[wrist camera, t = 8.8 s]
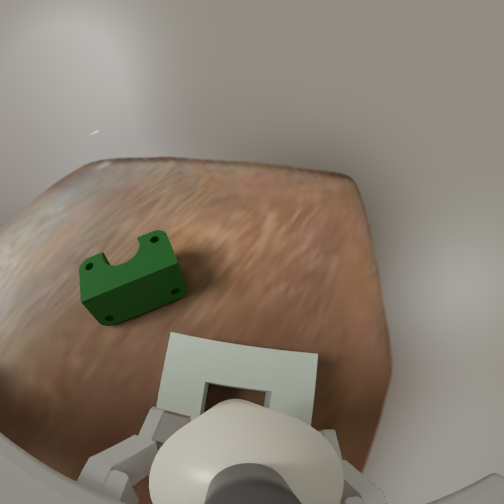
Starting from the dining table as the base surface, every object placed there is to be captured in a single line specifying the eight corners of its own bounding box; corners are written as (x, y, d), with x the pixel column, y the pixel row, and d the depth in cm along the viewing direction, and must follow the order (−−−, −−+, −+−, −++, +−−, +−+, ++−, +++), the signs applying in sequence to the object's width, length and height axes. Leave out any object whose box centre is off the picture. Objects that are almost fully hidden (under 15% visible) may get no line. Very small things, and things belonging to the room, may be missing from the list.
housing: (158, 459, 21) (147, 468, 17) (179, 341, 28) (171, 331, 24) (290, 478, 21) (300, 489, 17) (305, 360, 28) (318, 353, 24)
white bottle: (199, 451, 13) (115, 581, 1) (208, 394, 15) (126, 388, 3) (264, 460, 13) (357, 595, 1) (272, 402, 15) (408, 413, 3)
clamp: (168, 281, 36) (178, 226, 31) (181, 315, 33) (194, 261, 28) (82, 289, 30) (76, 231, 25) (86, 328, 26) (76, 270, 21)
